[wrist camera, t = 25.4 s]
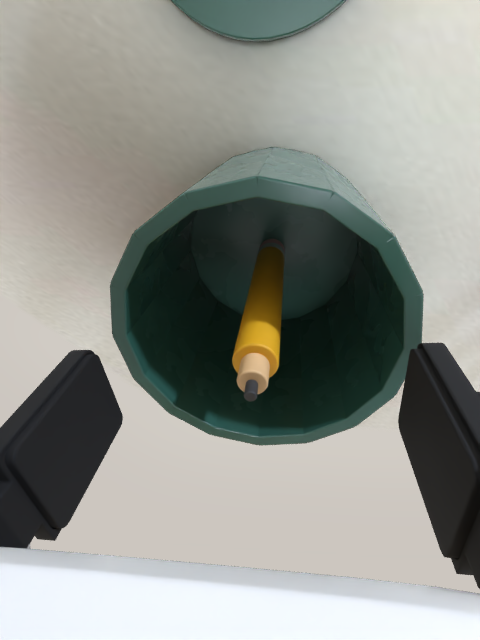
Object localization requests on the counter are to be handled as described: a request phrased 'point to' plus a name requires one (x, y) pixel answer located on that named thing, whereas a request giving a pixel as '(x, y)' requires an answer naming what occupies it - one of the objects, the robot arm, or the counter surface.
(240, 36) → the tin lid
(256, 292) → the pencil
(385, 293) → the tin
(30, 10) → the counter surface
